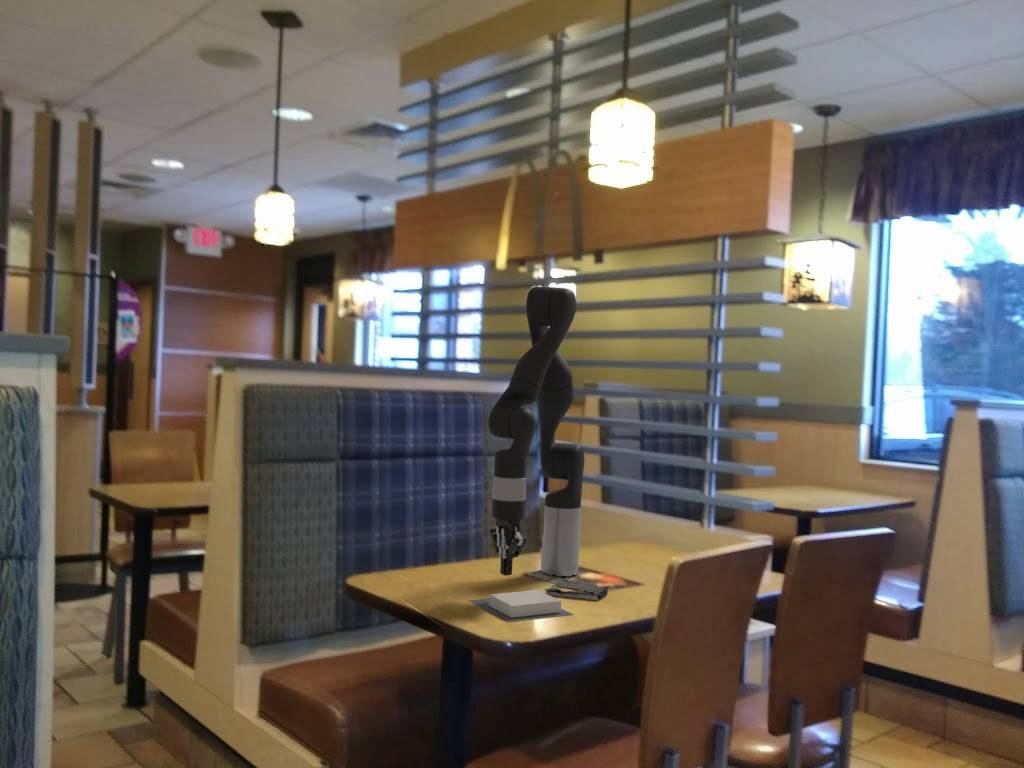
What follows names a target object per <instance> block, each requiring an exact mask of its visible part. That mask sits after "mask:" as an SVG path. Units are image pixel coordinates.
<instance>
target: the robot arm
mask: <svg viewBox="0 0 1024 768" xmlns="http://www.w3.org/2000/svg"><path fill="white" fill-rule="evenodd" d="M526 296H527V297H526V302H525V303H526V305H525V306H526V307H525V309H526V312H525V313H526V317H527V324H528V330H529V335H530V336H529V337H530V340H531V347H530V348H529V349H528V350H527V351H526V352H525V353H524V354H522V356H521V357H520V358H519V360H518V361H517V364H516V365H515V367H514V370H513V372H512V375H511V378H510V381H509V384H508V386H507V388H506V389H505V390H504V391H503V393H502V395H501V396H500V397H499V399H498V400H497V401H496V403H495V404H494V406H493V407H492V409H491V411H490V413H489V416H488V419H487V420H488V422H487V427H488V429H489V432H490V433H491V435H492V436H493V437H496V438H498V439H500V438H501V439H510V440H513V441H512V443H511V445H510V447H509V448H502V449H499V450H497V451H496V452H495V456H494V470H493V471H494V472H493V473H494V475H493V482H492V489H491V491H492V492H491V517H492V518H493V519H494V520H495V527H493V528H489V533H490V537H491V540H492V543H493V547H494V550H495V553H496V554H498V556H499V558H500V567H499V568H500V569H499V572H500V574H501V575H502V576H504V577H505V576H511V575H512V574H513V560H514V558H518V557H519V556H520V554H521V552H522V550H523V548H524V545H526V542H527V537H526V536H522V534H521V529H522V528H521V521H522V520H524V519H525V518H526V509H527V508H526V506H527V481H526V479H527V478H526V477H527V472H526V471H527V459H528V456H529V451H530V448H531V443H532V440H533V438H534V435H535V431H536V428H537V427H536V426H537V425H536V423H537V422H536V417H535V414H534V413H533V411H532V410H531V409H529V408H526V407H524V406H527V405H532V404H534V403H535V402H536V400H537V408H538V411H537V412H538V419H539V420H538V421H539V445H540V446H539V451H540V453H539V455H540V456H539V458H540V460H539V462H540V468H541V472H542V475H543V476H544V477H545V478H547V479H552V480H565V481H566V480H567V485H566V486H565V487H564V488H563V487H562V488H561V489H558V490H555V491H552V492H551V491H550V492H549V493H547V494H546V495H545V497H544V498H545V499H544V518H543V521H544V523H543V533H542V535H541V555H540V556H541V559H540V560H541V561H540V570H541V572H542V573H543V574H544V573H545V575H547V574H548V575H547V576H552V575H556V576H555V577H562V576H566V577H573V576H572V575H575V576H577V575H579V560H580V536H581V514H582V511H581V510H582V494H583V481H584V480H583V478H584V469H585V461H586V460H585V451H584V448H583V446H582V445H581V444H577V443H564V442H563V443H561V442H556V441H555V435H556V431H557V429H558V427H559V425H560V423H561V422H562V420H563V419H564V417H565V415H566V414H567V412H568V411H569V409H571V406H572V404H573V402H574V394H575V393H574V379H573V378H574V377H573V372H572V370H571V368H570V366H569V364H568V363H567V362H566V359H565V358H564V356H563V355H562V354H561V353H560V351H559V348H560V346H561V344H562V343H563V341H564V339H565V337H566V335H567V332H568V331H569V329H570V327H571V325H572V324H573V321H574V319H575V315H576V311H577V297H576V295H575V293H574V291H573V290H572V289H570V288H565V287H555V286H554V287H552V286H534V287H531V288H530V290H529V291H528V293H527V295H526Z"/></svg>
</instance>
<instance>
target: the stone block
mask: <svg viewBox="0 0 1024 768" xmlns="http://www.w3.org/2000/svg"><path fill="white" fill-rule="evenodd" d="M488 599H489V606H490V607H492V608H494V609H496V610H498V611H500V612H502V613H503V614H505V615H507V616H509V617H511V618H513V617H522V616H531V615H541V614H550V613H559V612H561V609H562V600H560V599H558V598H555V597H554V596H553V595H547V593H544V592H542V591H541V590H538V589H532V590H523V591H512V592H502V593H501V592H500V593H491V594H489V595H488Z"/></svg>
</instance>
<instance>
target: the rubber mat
mask: <svg viewBox="0 0 1024 768" xmlns="http://www.w3.org/2000/svg"><path fill="white" fill-rule="evenodd" d="M468 602H470V603H471V604H473V605H476V606H477V607H480V608H481V609H483V610H484V611H487V612H488V613H490V614H492V615H493V616H495V617H496V618H499V619H501V620H503V621H505V622H506V623H516V622H524V621H525V622H526V621H532V620H533V621H535V620H541V619H549V618H551V619H552V618H558V617H559V618H560V617H569V616H575V614H574V613H571V612H570V611H567V610H565V609H563V608H561V612H559V613H550V614H541V615H531V616H522V617H513V618H511V617H509V616H507V615H505V614H503V613H502V612H500V611H498V610H496V609H494V608H492V607H490V606H489V598H482V599H472V600H471V599H470V600H468Z"/></svg>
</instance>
